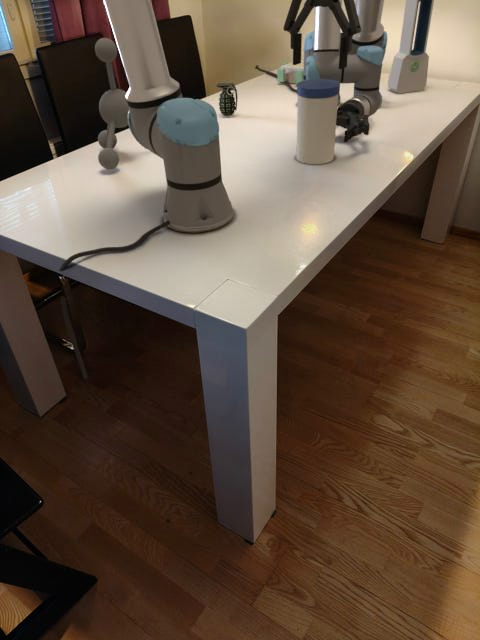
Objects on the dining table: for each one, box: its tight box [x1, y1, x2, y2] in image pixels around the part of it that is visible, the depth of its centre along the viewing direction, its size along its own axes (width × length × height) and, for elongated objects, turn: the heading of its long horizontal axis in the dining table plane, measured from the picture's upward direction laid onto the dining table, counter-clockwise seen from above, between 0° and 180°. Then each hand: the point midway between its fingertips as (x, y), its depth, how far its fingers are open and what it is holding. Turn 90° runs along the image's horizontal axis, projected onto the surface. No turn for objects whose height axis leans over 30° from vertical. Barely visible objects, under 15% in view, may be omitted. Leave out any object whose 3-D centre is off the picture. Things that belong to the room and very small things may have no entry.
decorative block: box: [276, 58, 304, 85], centre depth 205 cm, size 26×6×20 cm
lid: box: [296, 79, 341, 98], centre depth 122 cm, size 11×11×2 cm
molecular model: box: [94, 37, 129, 170], centre depth 132 cm, size 24×22×30 cm
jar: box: [295, 94, 338, 165], centre depth 128 cm, size 10×10×18 cm
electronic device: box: [387, 0, 435, 94], centre depth 176 cm, size 12×8×30 cm, turn 105°
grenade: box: [215, 82, 238, 117], centre depth 166 cm, size 7×6×10 cm
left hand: (319, 66), depth 119 cm, fingers open, 12 cm apart
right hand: (321, 133), depth 130 cm, fingers open, 13 cm apart
